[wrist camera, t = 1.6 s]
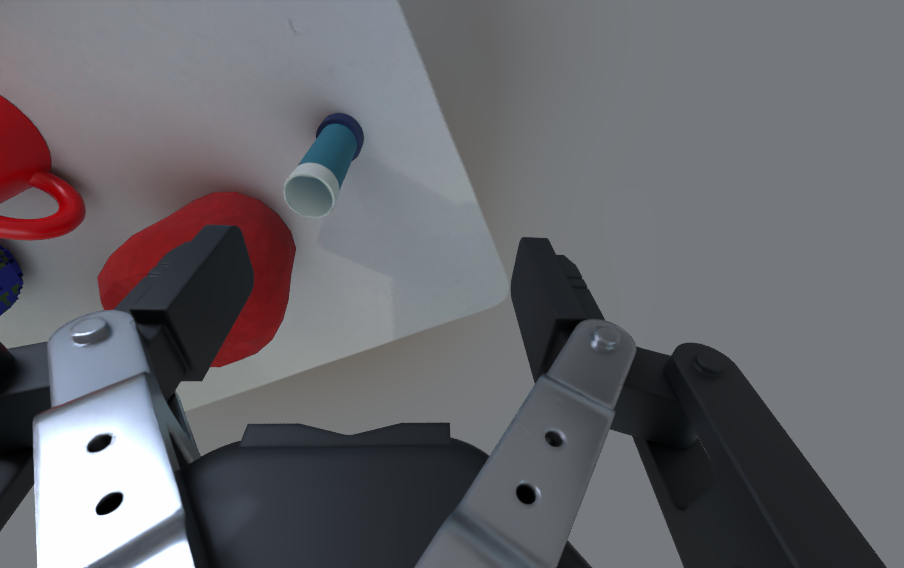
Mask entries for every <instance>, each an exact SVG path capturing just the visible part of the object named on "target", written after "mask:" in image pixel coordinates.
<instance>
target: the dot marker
mask: <svg viewBox="0 0 904 568" xmlns="http://www.w3.org/2000/svg"><path fill="white" fill-rule="evenodd" d="M363 142H364V135H363V131H362V128H361V127H360V125H359V124H358V122H357V121H356V120H355V119H353V118H352V117H350V116H349V115H346V114H342V113H335V114H332V115H329V116H328V117H326V118H325V119H324V121H323V122H322V123H321V125H320V126H319V128H318V130H317V133H316V140H315V142H314V143H313V145H312V146H311V147H310V149H309V150H308V152H307V153H306V155H305V156H304V158H303V159H302V160H301V162H300V163H299V165H298V166H297V167H296V168H295V169H294V170H293V172H292V173H291V174H290V176H289V177H288V179H287V180H286V182H285V184H284V187H283V194H284V198H285V201H286V203H287V204H288V206H289V207H290V208H291V209H292V210H293V211H294V212H296V213H297V214H299V215H301V216H303V217H306V218H313V219H314V218H321V217H324V216H326V215H327V214H329V213H330V212H331V210H332V209H333V207H334V205H335V202H336V200H337V197H338V195H339V190H340V188H341V185H342V183H343V180H344V178H345V176H346V173H347V171H348V168H349V166H350V164H351V161H353V160H354V159H355V158H357V156H358V155H359V153H360V151H361V148H362V145H363Z"/></svg>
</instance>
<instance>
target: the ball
mask: <svg viewBox="0 0 904 568" xmlns="http://www.w3.org/2000/svg"><path fill="white" fill-rule="evenodd" d="M22 276H23V273H22V271H21V269H20V266H19V265H18V263H17V262H16V260H15V259H14V257H13V256H12V254H11V252H10V251H9V249H4V248H3V246H1V245H0V315H2V314H3V313H4V312H6V311H7V310H8V309H9V308H11V306H12V305H13V304H14V303H15V302H16V300H18V299H19V298H18V297H17V296H18V295H19V294H20V293H21V292H20V289H22V288H23V287H22V285H23V280H22V278H21V277H22Z"/></svg>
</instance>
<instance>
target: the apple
mask: <svg viewBox="0 0 904 568" xmlns="http://www.w3.org/2000/svg"><path fill="white" fill-rule="evenodd" d="M208 224H210V225H235V226H238V227H239V228H240V229H241V231H242V234H243V237H244V240H245V244H246V247H247V250H248V254H249V257H250V261H251V264H252V267H253V271H254V287H253V290H252V293H251V295H250V296H249V298H248V300H247V302H246V303H245V305H244V307H243V309H242V311H241V312H240V314H239V316H238V318H237V320H236V321H235V323H234V325H233V327H232V328H231V330H230V332H229V334H228V336H227V337H226V339H225V341H224V343H223V345H222V346H221V348H220V350H219V352H218V354H217V355H216V357H215V359H214V361H213V362H212V364H211V366H210V367H222V366H225V365H227V364H230V363H233V362H236V361H239V360H241V359H244V358H246V357H249V356H251V355H254V354H256V353H258V352H259V351H260V350H261V349H262V348H263V347H265V346H266V345H267V344H268V343H269V342H270V341H271V340H272V339H273V337H274V336H275V334H276V332H277V330H278V328H279V326H280V325H281V323H282V321H283V318H284V315H285V311H286V307H287V304H288V300H289V291H290V282H291V273H292V268H293V262H294V257H295V252H296V247H295V243H294V240H293V237H292V234H291V231H290V230H289V229H288V227H287V226H286V224H285V223H284V222H283V220H282V219H281V218H280V216H279V215H278V214H277V213H276V212H274V211H273V210H272V209H270V208H269V207H268V206H266V205H265V204H264V203H262V202H261V201H260V200H258V199H255V198H252V197H249V196H246V195H243V194H241V193H238V192H218V193H211V194H208V195H206V196H203V197H201V198H199V199H196V200H194V201H192V202H191V203H189V204H187V205H186V206H184V207H183V208H181V209H179V210H178V211H176V212H175V213H173V214H171V215H170V216H168V217H166V218H164V219H163V220H161V221H159V222H157V223H155V224H153V225H151V226H149V227H148V228H146V229H144V230H142V231H140V232H138V233H136V234H134V235H133V236H131V237H130V238H129V239H128V240H127V241H126V242H125V243H124V244H123V245H122V246H121V247H119V248H118V249H117V250H116V251H115V252H114V253H113V254H112V255H111V256H110V257H109V258H108V260H107V262H106V264H105V265H104V267H103V269H102V270H101V272H100V274H99V275H98V277H97V278H98V285H99V292H100V299H101V303H102V306H103V308H104V310H113V309H114V308H115V307H116V306H117V305H118V304H119V303H120V302H121V301H122V300H123V299H124V298H125V297H126V296H127V294H128V293H129V292H130V291H131V290H132V289H133V288H134V287H135V286H136V285H137V284H138V283H139V282H140V281H141V280H142V279H143V278H144V277H145V276H147V273H148V272H149V271H150V270H151V269H152V268H153V267H154V266H157V263H158V262H159V261H160V260H161V259H162V258H163V257H164V256H165V255H166V254H167V253H168V252H169V251H170V250H172V249H174V248H176V247H177V246H179V245H181V244H183V243H185V242H186V241H188V242H190V241H191V240H192V239H193V238H194V237H195V236H196V234H197V233H198V232H199V231H200V230H201V229H202V228H203V227H204V226H205V225H208Z"/></svg>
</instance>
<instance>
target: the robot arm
mask: <svg viewBox="0 0 904 568" xmlns="http://www.w3.org/2000/svg"><path fill="white" fill-rule="evenodd" d="M253 287H254V271H253V267H252V264H251V261H250V257H249V254H248V250H247V247H246V244H245V240H244V237H243V234H242V231H241V229H240V228H239V227H238V226H235V225H210V224H208V225H205V226H204V227H203V228H202V229H201V230H200V231H199V232H198V233H197V234H196V236H195V237H194V238H193V239H192V240H191V241H190V242H188V241H186V242H185V243H183V244H181V245H179V246H177V247H176V248H174V249H172V250H170V251H169V252H168V253H167V254H166V255H165V256H164V257H163V258H162V259H161V260H160V261H159V262H158V263H157V266H154V267H153V268H152V269H151V270H150V271H149V272H148V273H147V276H145V277H144V278H143V279H142V280H141V281H140V282H139V283H138V284H137V285H136V286H135V287H134V288H133V289H132V290H131V291H130V292H129V293H128V294H127V296H126V297H125V298H124V299H123V300H122V301H121V302H120V303H119V304H118V305H117V306H116V307H115V308H114V309H113V310H104V311H98V312H94V313H90V314H87V315H84V316H81V317H79V318H77V319H74V320H72V321H70V322H69V323H67V324H65V325H64V326H62V327H61V328H60V329H58V330H57V331H56V332H55V333H54V334H53V335H52V336H51V338H50V339H49V341H48V342H42V343H37V344H32V345H26V346H21V347H15V348H10V349H7V348H6V347H5V346H4V345H3V344H2V343H1V342H0V531H1V529H2V528H3V527H4V525H5V524H6V523H7V521H8V520H9V518H10V517H11V516H12V514H13V513H14V511H15V510H16V508H17V507H18V506H19V504H20V503H21V502H22V500H23V499H24V497H25V496H26V495H27V493H28V492H29V490H30V489H31V488H32V486H33V485H34V483H35V510H36V537H37V568H592V567H591V566H590V565H589V564H588V563H587V561H586V560H585V559H584V558H583V557H582V556H581V555H580V554H579V552H578V551H577V550H576V549H575V548H574V547H573V546H572V545H571V543H570V542H569V541H568V540H567V539H568V536H569V534H570V531H571V529H572V526H573V523H574V521H575V518H576V516H577V513H578V510H579V507H580V505H581V503H582V500H583V497H584V495H585V492H586V490H587V487H588V484H589V482H590V479H591V476H592V474H593V471H594V468H595V466H596V463H597V461H598V458H599V455H600V453H601V450H602V448H603V445H604V443H605V440H606V437H607V434H608V432H609V429H611V430H614V431H618V432H621V433H624V434H628V435H631V436H632V437H633V439H634V442H635V444H636V447H637V449H638V452H639V455H640V457H641V460H642V462H643V465H644V467H645V470H646V472H647V475H648V477H649V480H650V482H651V485H652V487H653V490H654V493H655V495H656V498H657V500H658V503H659V505H660V508H661V510H662V513H663V515H664V518H665V520H666V523H667V526H668V528H669V531H670V533H671V535H672V538H673V540H674V543H675V546H676V548H677V551H678V553H679V556H680V558H681V561H682V563H683V566H684V568H886V566H885V565H884V563H883V562H882V561H881V559H880V558H879V557H878V555H877V554H876V553H875V551H874V550H873V549H872V547H871V546H870V545H869V543H868V542H867V540H866V539H865V538H864V537H863V535H862V534H861V532H860V531H859V530H858V528H857V527H856V526H855V524H854V523H853V522H852V520H851V519H850V518H849V517H848V515H847V514H846V512H845V511H844V510H843V508H842V507H841V505H840V504H839V503H838V502H837V500H836V499H835V497H834V496H833V495H832V493H831V492H830V491H829V489H828V488H827V487H826V485H825V484H824V483H823V481H822V480H821V479H820V477H819V476H818V474H817V473H816V472H815V470H814V469H813V468H812V466H811V465H810V464H809V462H808V461H807V460H806V458H805V457H804V456H803V454H802V453H801V452H800V450H799V449H798V448H797V446H796V445H795V444H794V442H793V441H792V439H791V438H790V437H789V435H788V434H787V433H786V431H785V430H784V429H783V427H782V426H781V425H780V423H779V422H778V421H777V419H776V418H775V417H774V415H773V414H772V412H771V411H770V410H769V408H768V407H767V406H766V404H765V403H764V402H763V400H762V399H761V398H760V396H759V395H758V394H757V392H756V391H755V390H754V388H753V387H752V386H751V384H750V383H749V381H748V380H747V379H746V377H745V376H744V375H743V374H742V372H741V371H740V369H739V368H738V367H737V366H736V365H735V363H734V362H733V361H731V360H730V359H729V358H728V357H727V356H725V355H724V354H722V353H721V352H719V351H717V350H715V349H713V348H711V347H709V346H705V345H702V344H698V343H685V344H681V345H679V346H678V347H677V348H676V349H675V350H674V352H673V354H672V355H671V356H670V355H665V354H662V353H657V352H654V351H650V350H646V349H642V348H639V347H636V345H635V342H634V340H633V339H632V337H631V336H630V335H629V334H628V333H627V332H626V331H625V330H623V329H622V328H621V327H619V326H617V325H615V324H613V323H611V322H608V321H605V319H604V317H603V315H602V313H601V311H600V309H599V308H598V306H597V304H596V302H595V300H594V298H593V296H592V295H591V293H590V291H589V289H587V285H586V283H585V282H584V280H583V279H582V276H581V274H580V272H579V270H578V268H577V267H576V265H575V264H573V263H572V262H571V261H570V260H569V259H568V258H567V257H565V256H564V255H556V254H555V252H554V250H553V248H552V246H551V244H550V241H549V240H548V239H547V238H531V237H523V238H521V240H520V242H519V246H518V251H517V256H516V261H515V265H514V270H513V275H512V279H511V298H512V302H513V306H514V310H515V313H516V317H517V321H518V324H519V328H520V331H521V335H522V339H523V342H524V346H525V349H526V353H527V357H528V361H529V364H530V368H531V372H532V375H533V379H534V382H535V385H534V387H533V389H532V390H531V391H530V393H529V395H528V396H527V398H526V399H525V401H524V403H523V404H522V406H521V407H520V409H519V410H518V412H517V414H516V415H515V417H514V418H513V420H512V421H511V423H510V425H509V426H508V428H507V430H506V431H505V433H504V434H503V436H502V437H501V439H500V440H499V442H498V444H497V445H496V447H495V449H494V450H493V452H492V453H491V455H490V456H489V455H487V454H486V453H485V452H483V451H482V450H480V449H478V448H476V447H475V446H473V445H471V444H469V443H466V442H463V441H461V440H458V439H454V438H450V423H400V424H395V425H391V426H387V427H383V428H379V429H375V430H371V431H367V432H362V433H359V434H354V435H344V434H340V433H335V432H331V431H327V430H323V429H319V428H315V427H311V426H306V425H303V424H248V425H247V427H246V430H245V432H244V435H243V437H242V440H241V441H238V442H234V443H231V444H228V445H225V446H223V447H220V448H218V449H216V450H213V451H211V452H209V453H207V454H205V455H204V456H202V457H201V456H200V453H199V451H198V448H197V446H196V443H195V440H194V437H193V434H192V432H191V429H190V426H189V423H188V420H187V418H186V415H185V412H184V409H183V406H182V404H181V401H180V398H179V396H178V394H177V393H176V391H175V390H176V388H177V387H178V385H179V383H180V382H181V381H202V380H203V379H204V377H205V375H206V373H207V371H208V370H209V368H210V366H211V364H212V362H213V361H214V359H215V357H216V355H217V354H218V352H219V350H220V348H221V346H222V345H223V343H224V341H225V339H226V337H227V336H228V334H229V332H230V330H231V328H232V327H233V325H234V323H235V321H236V320H237V318H238V316H239V314H240V312H241V311H242V309H243V307H244V305H245V303H246V302H247V300H248V298H249V296H250V295H251V293H252V290H253ZM698 437H699V438H698ZM699 439H700V440H699ZM700 441H701V442H700ZM701 443H702V444H701ZM702 445H703V446H702ZM704 448H705V449H704ZM705 450H706V451H705ZM706 452H707V453H706ZM707 454H708V455H707ZM708 456H709V457H708ZM709 458H710V459H709Z"/></svg>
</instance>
